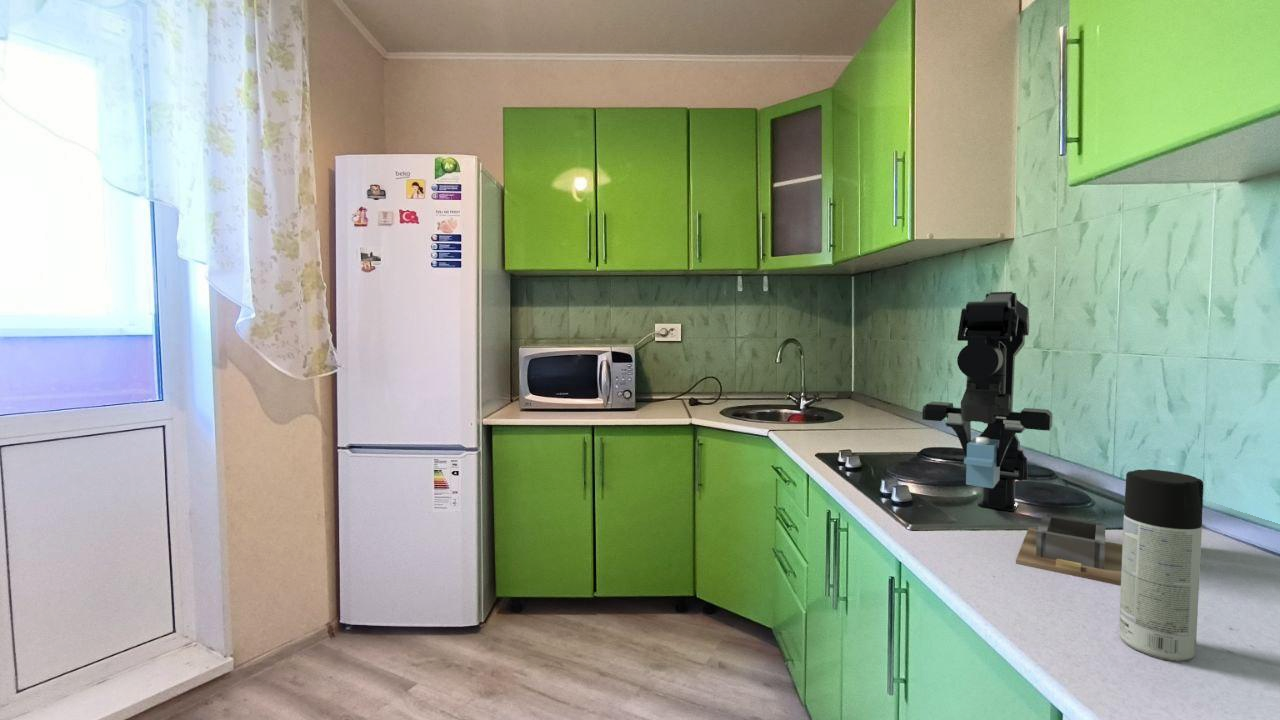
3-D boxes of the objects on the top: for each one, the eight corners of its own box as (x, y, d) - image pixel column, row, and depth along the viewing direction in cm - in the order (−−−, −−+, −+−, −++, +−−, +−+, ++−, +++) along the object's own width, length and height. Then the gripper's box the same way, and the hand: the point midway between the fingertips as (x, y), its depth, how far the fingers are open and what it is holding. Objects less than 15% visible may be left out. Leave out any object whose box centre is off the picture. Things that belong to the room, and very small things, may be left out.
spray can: (1211, 657, 65) (1220, 480, 64) (1168, 668, 63) (1177, 485, 62) (1144, 628, 71) (1151, 466, 70) (1103, 636, 69) (1110, 470, 68)
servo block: (975, 473, 107) (977, 430, 106) (1001, 477, 104) (1002, 432, 104) (963, 487, 98) (964, 440, 97) (990, 491, 95) (992, 442, 95)
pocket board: (1028, 531, 105) (1029, 506, 104) (1122, 548, 97) (1123, 521, 96) (1015, 563, 91) (1016, 534, 90) (1124, 586, 83) (1125, 554, 82)
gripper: (915, 375, 99) (913, 465, 100) (1048, 381, 88) (1044, 483, 89) (931, 371, 108) (929, 454, 109) (1054, 376, 96) (1050, 469, 97)
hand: (983, 464), depth 101 cm, fingers closed on servo block, 4 cm apart
